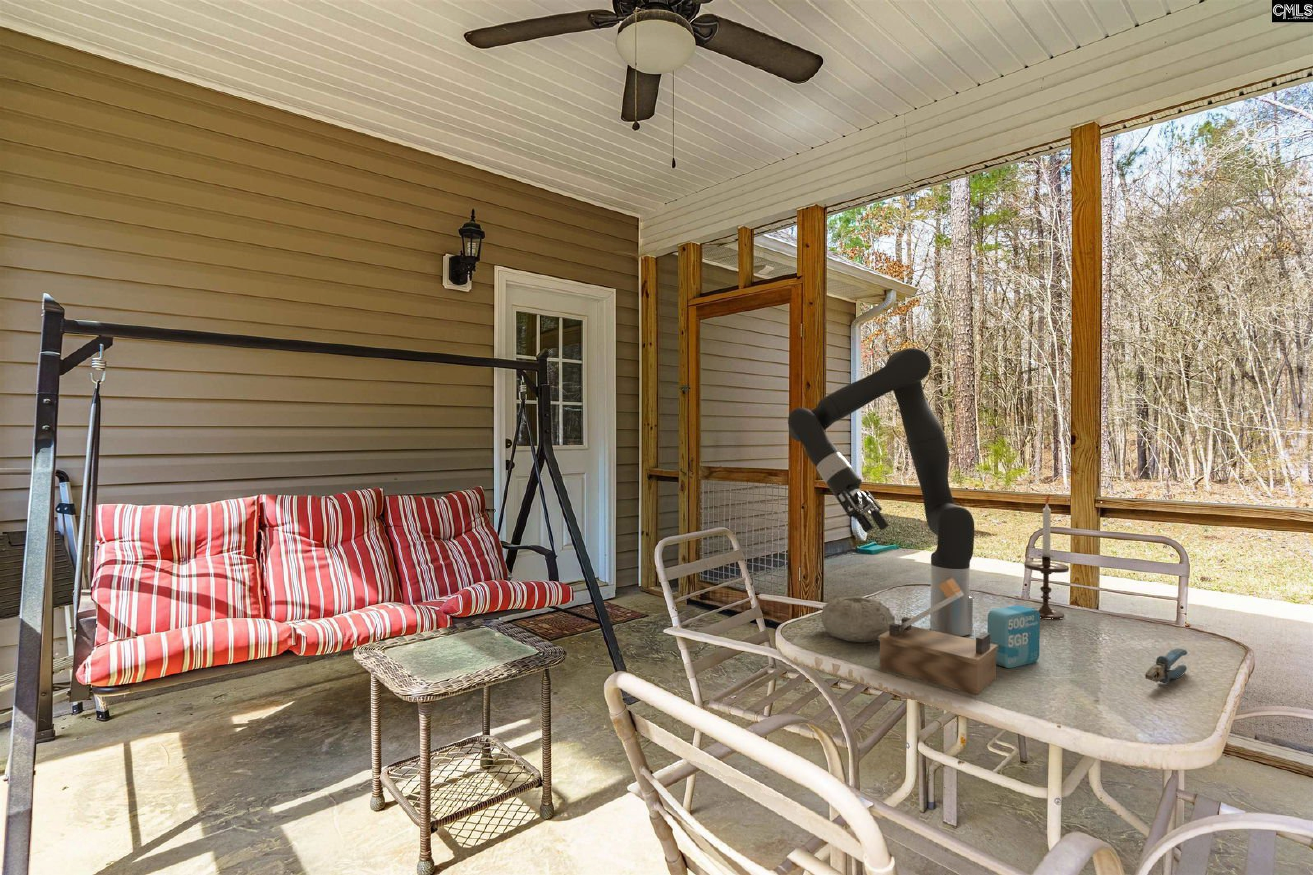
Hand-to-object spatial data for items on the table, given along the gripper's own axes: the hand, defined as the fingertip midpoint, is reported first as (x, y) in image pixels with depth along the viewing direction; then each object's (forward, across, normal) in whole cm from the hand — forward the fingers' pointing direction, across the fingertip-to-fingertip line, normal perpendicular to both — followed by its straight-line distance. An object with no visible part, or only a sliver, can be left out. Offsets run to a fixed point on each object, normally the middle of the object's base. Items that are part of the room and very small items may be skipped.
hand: (877, 528), depth 150 cm
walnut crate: (+32, -4, +7) cm, 33 cm away
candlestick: (+35, +63, 0) cm, 72 cm away
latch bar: (+22, -4, 0) cm, 22 cm away
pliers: (+55, +25, -22) cm, 64 cm away
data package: (+38, +15, -1) cm, 41 cm away
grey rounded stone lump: (+17, +7, +24) cm, 31 cm away
